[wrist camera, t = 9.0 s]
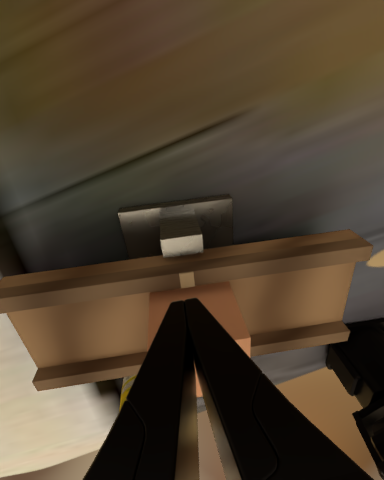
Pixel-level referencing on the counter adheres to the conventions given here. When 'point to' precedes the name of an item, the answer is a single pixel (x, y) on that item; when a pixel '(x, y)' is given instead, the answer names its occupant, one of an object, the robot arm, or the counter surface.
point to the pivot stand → (177, 227)
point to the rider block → (218, 304)
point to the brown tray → (181, 276)
